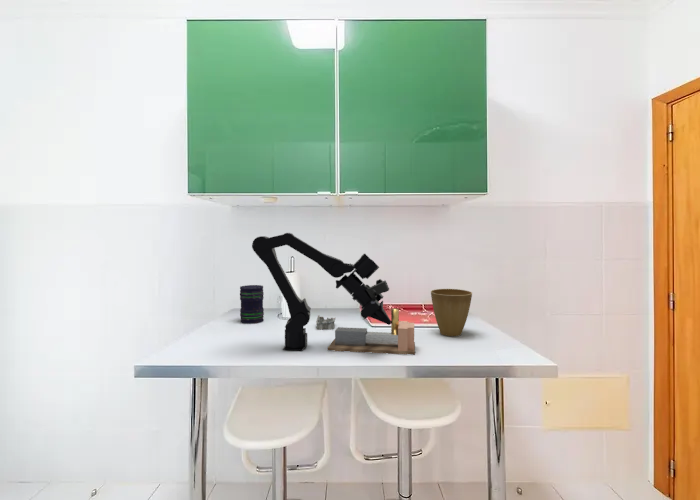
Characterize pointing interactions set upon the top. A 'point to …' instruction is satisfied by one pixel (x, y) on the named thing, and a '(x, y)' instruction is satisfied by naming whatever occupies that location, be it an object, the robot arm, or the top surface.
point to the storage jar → (251, 304)
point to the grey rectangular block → (350, 336)
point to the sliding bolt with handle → (385, 336)
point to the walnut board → (371, 348)
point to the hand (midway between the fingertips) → (390, 323)
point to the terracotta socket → (405, 336)
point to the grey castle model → (325, 323)
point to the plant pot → (451, 310)
